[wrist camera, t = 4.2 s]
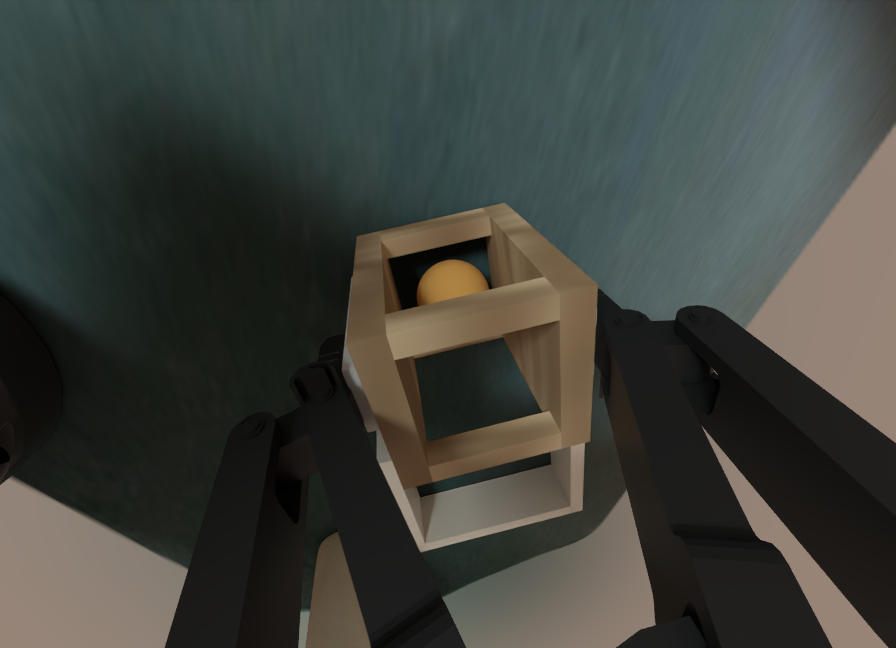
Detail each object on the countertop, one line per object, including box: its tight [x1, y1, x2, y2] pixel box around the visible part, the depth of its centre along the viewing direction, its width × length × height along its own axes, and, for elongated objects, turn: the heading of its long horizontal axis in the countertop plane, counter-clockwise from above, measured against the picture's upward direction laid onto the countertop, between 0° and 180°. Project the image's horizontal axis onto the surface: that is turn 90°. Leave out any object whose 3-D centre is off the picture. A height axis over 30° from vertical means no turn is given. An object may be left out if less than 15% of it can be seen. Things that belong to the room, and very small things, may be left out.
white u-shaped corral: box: [377, 430, 585, 552], centre depth 23 cm, size 11×9×3 cm
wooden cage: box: [346, 203, 598, 490], centre depth 14 cm, size 6×6×8 cm
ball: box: [417, 260, 489, 306], centre depth 17 cm, size 3×3×3 cm
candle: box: [306, 532, 371, 648], centre depth 24 cm, size 6×6×10 cm
